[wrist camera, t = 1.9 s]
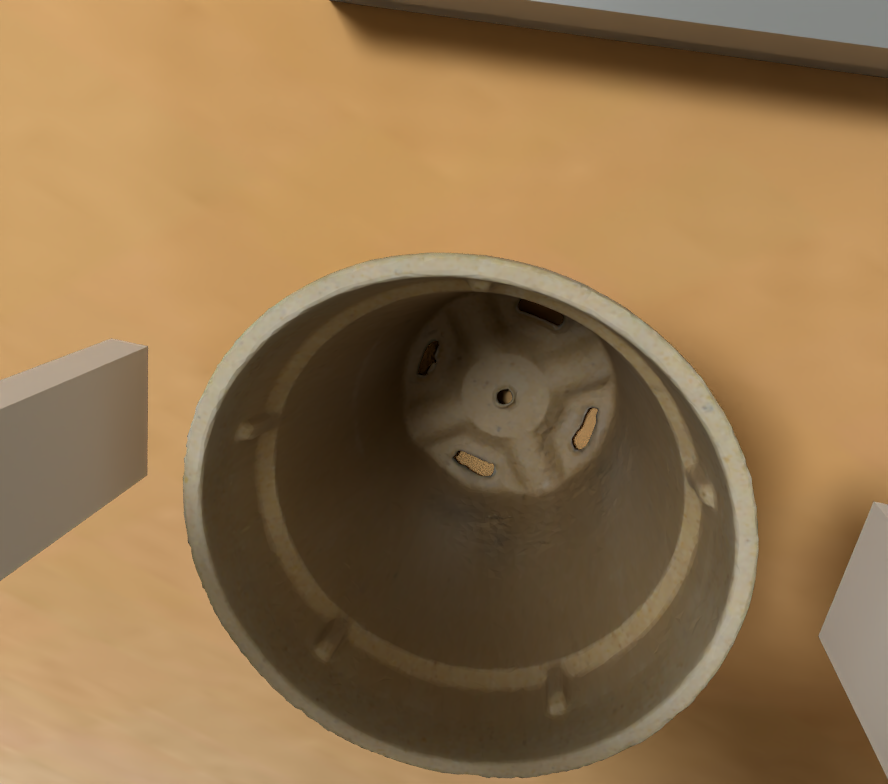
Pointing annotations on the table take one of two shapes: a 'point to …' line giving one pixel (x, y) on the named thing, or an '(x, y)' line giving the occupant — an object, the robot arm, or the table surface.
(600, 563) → the flower pot
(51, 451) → the robot arm
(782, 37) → the tray
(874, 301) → the table surface
